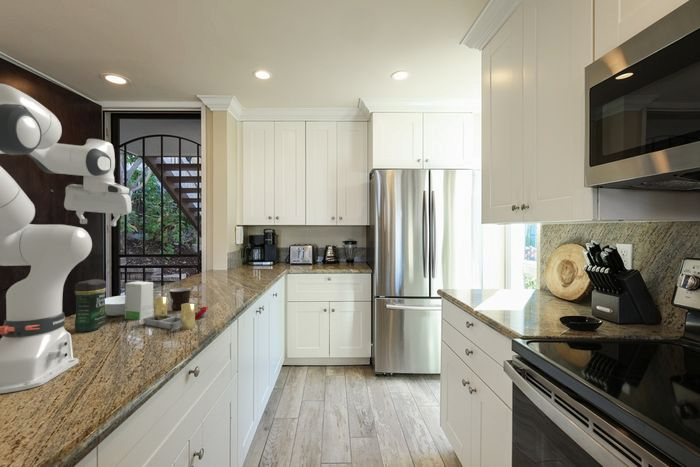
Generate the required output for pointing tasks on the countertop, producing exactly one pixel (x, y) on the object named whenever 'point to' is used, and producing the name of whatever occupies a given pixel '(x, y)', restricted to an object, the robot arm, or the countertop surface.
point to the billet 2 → (187, 316)
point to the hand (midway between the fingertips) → (98, 224)
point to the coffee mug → (179, 297)
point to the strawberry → (201, 312)
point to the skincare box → (138, 300)
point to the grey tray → (165, 322)
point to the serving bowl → (115, 305)
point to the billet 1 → (160, 307)
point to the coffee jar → (90, 305)
